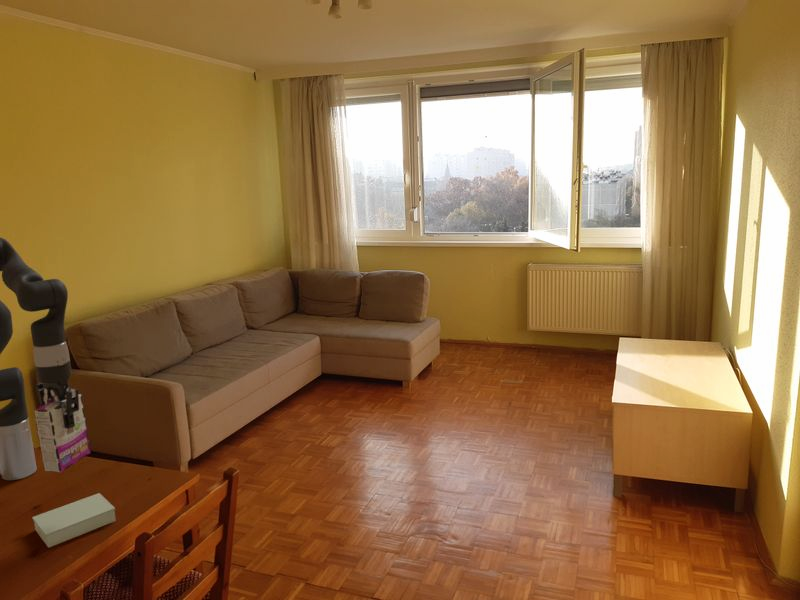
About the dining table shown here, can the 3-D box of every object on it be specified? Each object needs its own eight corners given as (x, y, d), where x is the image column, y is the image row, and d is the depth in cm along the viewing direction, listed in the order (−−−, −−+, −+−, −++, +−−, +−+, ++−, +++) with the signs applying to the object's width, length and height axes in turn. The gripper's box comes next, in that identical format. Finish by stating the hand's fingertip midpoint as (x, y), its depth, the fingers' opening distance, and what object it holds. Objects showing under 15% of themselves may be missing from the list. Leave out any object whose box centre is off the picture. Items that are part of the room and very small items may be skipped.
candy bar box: (74, 452, 162) (65, 393, 159) (91, 453, 161) (82, 393, 158) (42, 472, 151) (32, 409, 148) (60, 473, 150) (50, 410, 147)
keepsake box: (48, 549, 150) (45, 534, 149) (34, 531, 158) (32, 517, 157) (117, 522, 161) (115, 508, 160) (101, 506, 169) (99, 492, 168)
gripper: (19, 361, 151) (30, 425, 154) (55, 369, 144) (65, 436, 148) (49, 353, 157) (58, 415, 161) (85, 360, 151) (93, 424, 154)
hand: (62, 425), depth 154 cm, fingers closed on candy bar box, 6 cm apart
